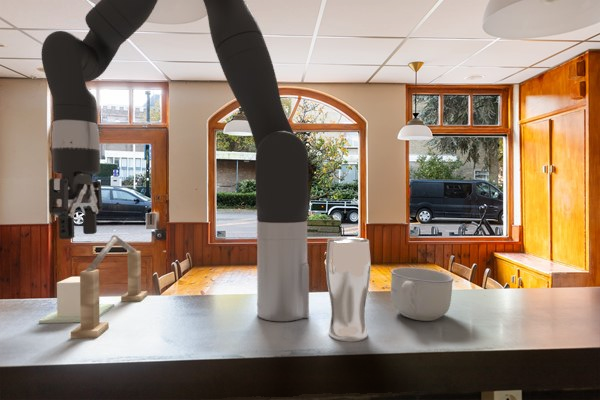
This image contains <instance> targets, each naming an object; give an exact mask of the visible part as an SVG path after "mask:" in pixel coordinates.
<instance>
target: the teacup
mask: <svg viewBox="0 0 600 400" xmlns="http://www.w3.org/2000/svg"><path fill="white" fill-rule="evenodd" d="M390 273H391V280H390V300H391V303H392V305H393V307H394V308H395V309H397V311H398V312H399V313H400V315H402V316H403V317H406V318H409V319H411V320H414V321H415V320H416V321H424V322H432V321H437V320H438V319H439V318H441V317H442V316H444V315H446V314H447V313H448V311H449V309H450V306H451V301H452V293H453V282H454V277H453V276H452V275H451V274H449V273H447V272H443V271H438V270H434V269H428V268H424V267H423V268H421V267H395V268H392V269H391V270H390Z"/></svg>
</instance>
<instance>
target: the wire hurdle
mask: <svg viewBox="0 0 600 400" xmlns="http://www.w3.org/2000/svg"><path fill="white" fill-rule="evenodd" d="M115 243H116V244H117V245H119V246H120V247H122V248H123V249H125V250H127V251H128V252H127V292H125V293H124V294H122V295H121V297H120V302H142V301H143V300H145V298H146V297H148V291H147V290H143V291H142V268H141V267H142V266H141V265H142V260H141V259H142V254H141V253H142V252H141V250H137V249H136V248H134V246H131V245H130V244H128V243H127V242H126V241H124V240H123V239H121V238H120V237H119V236H118V235H116V234H115V235H112V236H111V237H110V240H108V242H107V243H106V245H104V246H103V248H102V249H101V251H100V252H99V253H98V255H97V256H96V257H95V259H93V261H92V262H91V263H90V264H89V266H88V267H87V268H86V269H84V270H82V271H80V272H79V277H80V314H81V322H80V325H78V326H77V327H75V328H74V329H72V330H71V331H70V339H83V338H84V339H86V338H87V339H88V338H99V337H100V336H101V335H102V334H103V333H105V332H106V331H108V329H109V322H108V321H107V322H102V321H101V320H100V318H101V317H99V304H100V269H96V268H97V267H98V266H99V265H100V263H101V262H102V261H103V259H104V258H105V257H106V255H107V254H108V253H109V251H110V250H111V249H112V247H113V246H114V245H115ZM100 321H101V322H100Z"/></svg>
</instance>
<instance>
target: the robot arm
mask: <svg viewBox="0 0 600 400" xmlns="http://www.w3.org/2000/svg"><path fill="white" fill-rule="evenodd" d="M158 1H159V0H99V2H97V3H96V4H95V5H94V6H93V7H92V8H91V9H90V10H89V11H88V12H87V14H86V15H85V17H84V18H85V19H84V20H85V23H86V25H87V27H88V29H89V30H88V32H87V34H86V35H85V37H84V38H83V39H80V38H79V37H78V36H76V35H74V34H73V33H71V32H67V31H64V30H56V31H53V32H51V33H50V34H48V35H47V37H46V38H45V39H44V41H43V43H42V47H41V52H40V53H41V61H42V62H41V63H42V67H43V71H44V74H45V78H46V81H47V85H48V88H49V91H50V95H51V97H52V121H53V123H52V131H51V147H52V148H51V149H52V151H51V152H52V172H53V173H54V174H56V175H60V176H61V178H54V177H53V178H50V179H49V183H48V186H49V189H48V190H49V191H48V192H49V194H48V200H49V201H48V211H49V214H50V215H55V217H56V218H57V219H58V238H59V239H60V240H71V239H74V238H75V218H74V215H75V212H76V209H78V208H79V207H80V210H81V211H82V230H83V231H82V232H83V234H84V235H94V234H95V235H96V234H97V232H98V231H97V214H99V211H102V210H103V198H102V194H103V193H102V184H101V183H102V182H101V181H100V180H93V175H99V174H100V173H101V149H100V148H101V146H100V144H101V143H100V133H99V127H98V126H99V125H98V106H97V100H96V97H95V96H94V94H93V93H92V92H91V91H90V90H89V89H88V87H87V84H86V83H89V82H92V81H95V80H96V79H98V78H99V77H100V76H101V75H103V74H104V73H105V71H106V70H107V69H108V67H109V65H110V64H111V62H112V60H113V59H114V58H115V56H116V54H117V53H118V51H119V49H120V47H121V45H122V44H123V43H125V42H126V41H127V40H128V39H129V38H131V36H132V35H134V34H135V32H136V31H138V30H139V29H140V28H141V27H142V26H143V25H144V24H145V23H146V22H147V20H148V19H149V17H150V16H151V14H152V13H153V11H154V9H155V7H156V5H157V3H158ZM202 2H203V3H204V7H205V9H206V13H207V19H208V20H207V21H208V26H209V27H208V28H209V33H210V37H211V42H212V45H213V47H214V51H215V54H216V55H217V59H218V61H219V64H220V65H219V66H220V68H221V69H222V72H223V74H224V77H225V80H226V81H227V83H228V85H229V87H230V90H231V91H232V93H233V96H234V97H235V99H236V101H237V104H238V106H240V108H241V110H242V113H243V114H244V116H245V118H246V121H247V123H248V127H249V128H250V129H249V130H250V132H251V135H252V138H253V142H254V146H255V150H256V152H255V205H256V222H257V223H256V234H257V235H256V239H257V241H256V244H257V245H256V250H257V253H256V255H257V257H256V260H257V262H256V265H257V266H256V267H257V268H256V270H257V275H256V276H257V277H256V278H257V279H256V283H257V287H256V288H257V289H256V290H257V294H256V295H257V299H256V300H257V302H256V303H257V304H256V305H257V317H259V318H260V319H262V320H266V321H272V322H290V321H297V320H300V319H308V318H309V317H310V305H309V304H310V300H309V299H310V292H309V291H310V289H309V288H310V285H309V284H310V281H309V280H310V279H309V278H310V270H309V269H310V265H309V264H308V207H309V205H308V204H309V153H308V149H307V147H306V144H305V143H304V142H303V141H302V139H301V138H300V137H299V136H298V135H296V134H295V132H294V130H293V129H292V128H293V127H291V124H290V122H289V119H288V117H287V115H286V112H285V109H284V108H283V103H282V99H281V95H280V90H279V83H278V79H277V76H276V72H275V68H274V65H273V61H272V58H271V55H270V51H269V49H268V47H267V44H266V41H265V38H264V36H263V33H262V31H261V28H260V26H259V23H258V22H257V19H256V18H255V16H254V14H253V12H252V9H250V7H249V5H248V4H247V2H246V0H202Z"/></svg>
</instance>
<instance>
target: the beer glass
mask: <svg viewBox="0 0 600 400" xmlns="http://www.w3.org/2000/svg"><path fill="white" fill-rule="evenodd" d="M326 241H327V243H326V246H327V247H326V257H325V258H326V259H325V272H326V273H325V274H326V275H325V276H326V284H327V289H328V295H329V302H330V312H331V313H330V314H331V316H330V323H329V328H328V335H329V336H330V337H331V338H332V339H333V340H337V341H340V342H348V343H349V342H360V341H363V340H365V339H367V337H368V334H369V333H368V327H367V323H366V322H367V321H366V306H367V305H366V304H367V299H368V294H369V287H370V281H371V270H372V269H371V252H370V251H371V250H370V240H369V239H368V238H361V237H331V238H328V239H327V240H326Z"/></svg>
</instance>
